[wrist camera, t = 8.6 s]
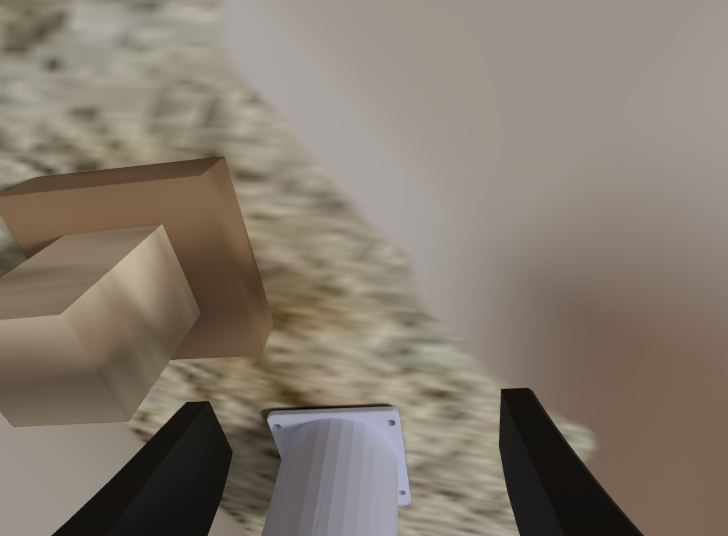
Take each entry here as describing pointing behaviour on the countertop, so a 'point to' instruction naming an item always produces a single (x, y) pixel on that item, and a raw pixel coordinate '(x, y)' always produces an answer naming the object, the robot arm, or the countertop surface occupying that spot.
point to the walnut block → (183, 227)
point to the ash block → (91, 326)
